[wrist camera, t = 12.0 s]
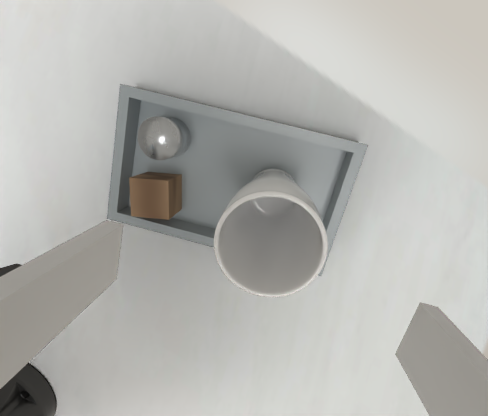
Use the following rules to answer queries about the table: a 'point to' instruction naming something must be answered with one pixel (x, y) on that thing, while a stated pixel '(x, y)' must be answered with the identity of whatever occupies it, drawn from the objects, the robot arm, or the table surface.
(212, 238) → the collection tray
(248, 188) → the drinking glass
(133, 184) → the walnut cube
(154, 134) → the metal cylinder
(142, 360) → the table surface
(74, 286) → the robot arm
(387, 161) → the table surface
